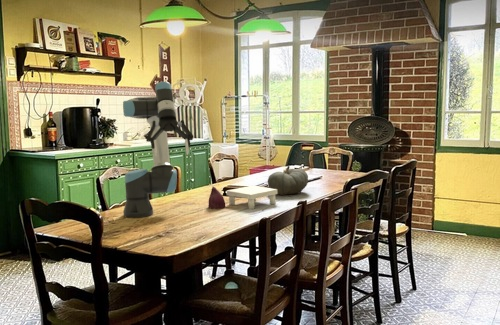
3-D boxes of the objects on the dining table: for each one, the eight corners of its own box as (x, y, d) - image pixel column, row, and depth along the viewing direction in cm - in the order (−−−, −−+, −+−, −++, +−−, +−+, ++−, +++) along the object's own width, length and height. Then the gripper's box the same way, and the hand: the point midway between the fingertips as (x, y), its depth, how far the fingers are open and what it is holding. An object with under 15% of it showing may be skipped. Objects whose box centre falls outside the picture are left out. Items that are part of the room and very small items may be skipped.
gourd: (318, 188, 298) (312, 161, 295) (287, 201, 284) (280, 172, 282) (293, 188, 319) (287, 162, 316) (262, 199, 305) (256, 172, 303)
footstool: (227, 204, 273) (226, 190, 272) (253, 199, 286) (252, 185, 285) (251, 209, 258) (250, 194, 257) (277, 203, 271) (277, 189, 270)
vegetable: (216, 214, 261) (211, 192, 256) (205, 210, 268) (201, 188, 263) (229, 207, 267) (225, 185, 262) (219, 203, 274) (215, 181, 269)
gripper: (138, 108, 211) (143, 150, 202) (195, 107, 219) (202, 148, 209) (137, 117, 218) (141, 159, 208) (193, 116, 225) (199, 156, 216)
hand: (172, 154), depth 209 cm, fingers open, 13 cm apart
